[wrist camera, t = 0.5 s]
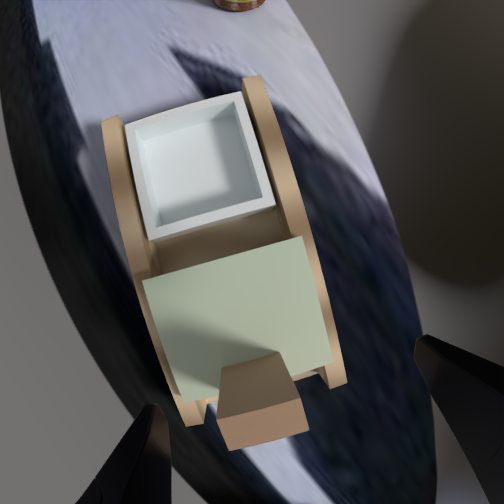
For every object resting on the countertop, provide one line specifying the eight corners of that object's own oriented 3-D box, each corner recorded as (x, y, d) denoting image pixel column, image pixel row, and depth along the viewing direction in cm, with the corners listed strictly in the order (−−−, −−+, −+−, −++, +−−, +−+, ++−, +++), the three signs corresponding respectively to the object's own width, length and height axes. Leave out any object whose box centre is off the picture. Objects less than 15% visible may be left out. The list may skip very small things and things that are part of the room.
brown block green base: (331, 359, 21) (373, 406, 13) (185, 399, 20) (165, 460, 13) (300, 236, 21) (335, 227, 13) (144, 279, 20) (98, 294, 13)
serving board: (338, 361, 25) (355, 379, 21) (185, 404, 25) (177, 428, 21) (264, 97, 25) (269, 73, 21) (111, 141, 24) (93, 124, 20)
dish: (270, 210, 24) (275, 204, 21) (159, 242, 24) (148, 240, 21) (240, 109, 24) (240, 91, 21) (136, 138, 24) (124, 125, 21)
